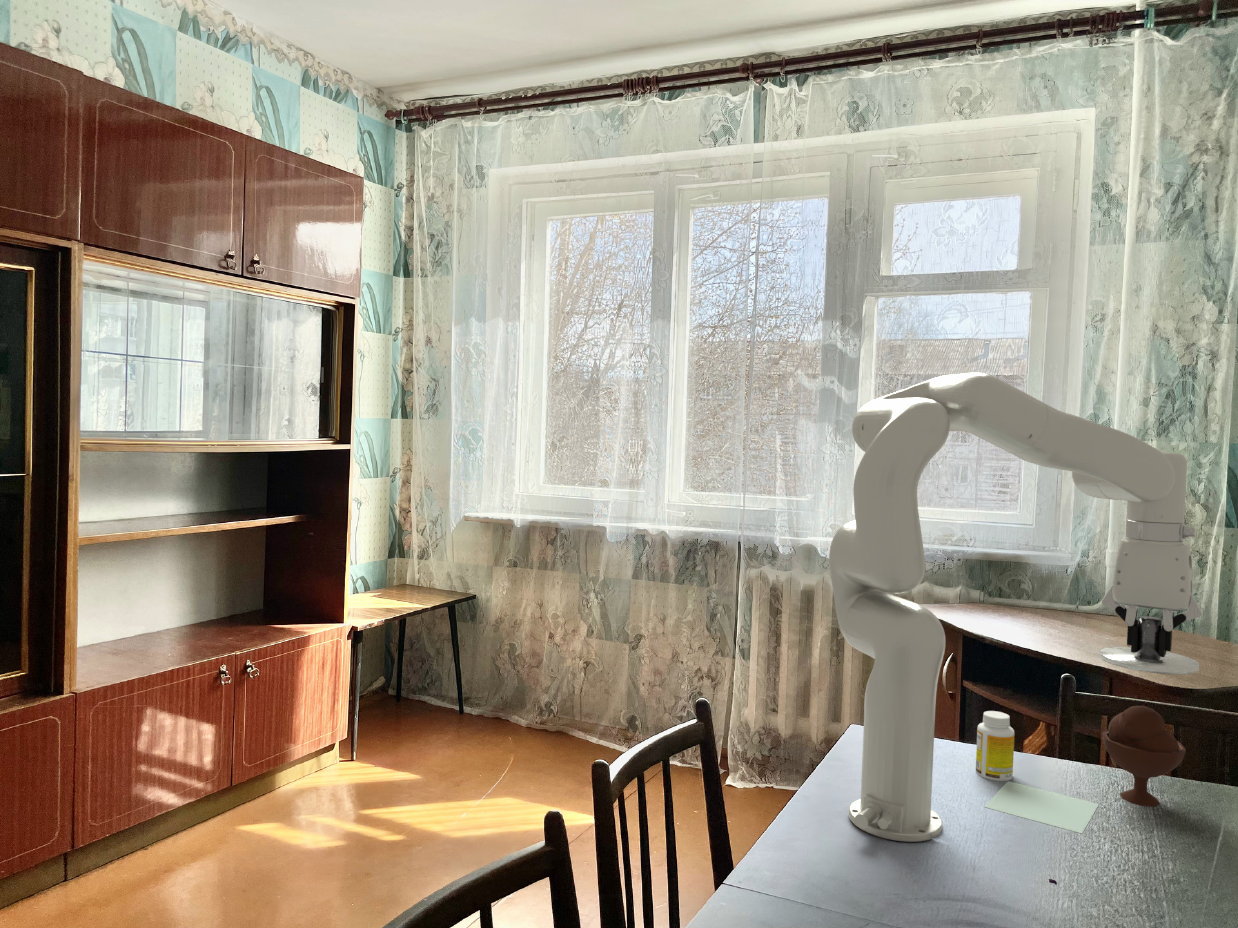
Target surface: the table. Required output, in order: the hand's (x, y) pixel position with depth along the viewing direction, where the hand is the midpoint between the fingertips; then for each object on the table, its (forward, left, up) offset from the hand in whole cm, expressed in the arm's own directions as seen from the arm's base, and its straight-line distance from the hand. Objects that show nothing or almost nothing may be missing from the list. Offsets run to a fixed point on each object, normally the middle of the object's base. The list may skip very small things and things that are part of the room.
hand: (1148, 651), depth 134 cm
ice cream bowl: (0, 0, -23) cm, 23 cm away
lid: (0, 0, -2) cm, 2 cm away
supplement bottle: (-5, +20, -23) cm, 31 cm away
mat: (-13, +11, -23) cm, 29 cm away
